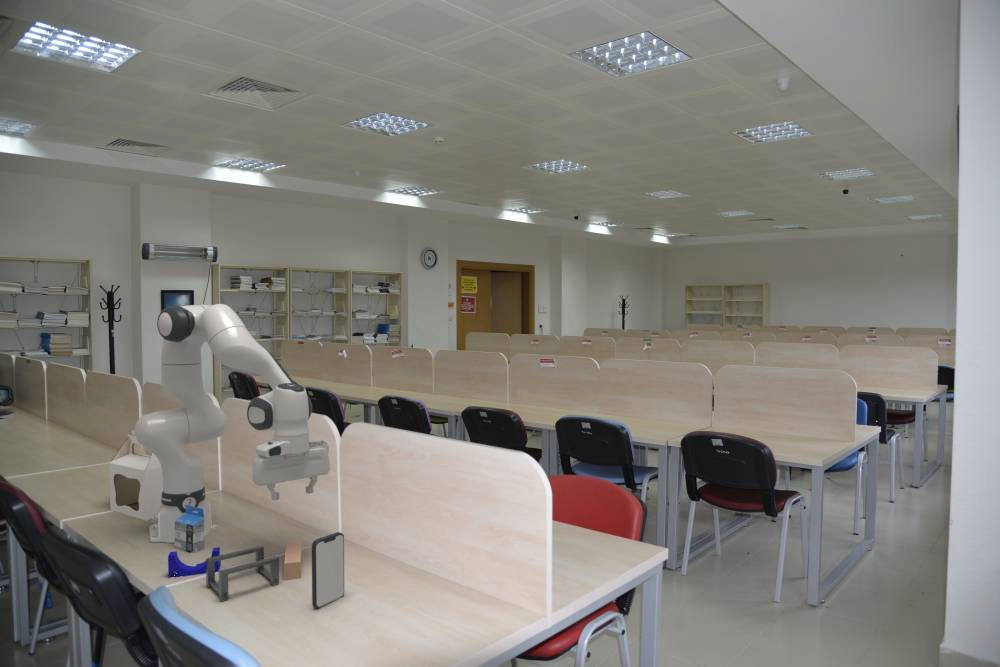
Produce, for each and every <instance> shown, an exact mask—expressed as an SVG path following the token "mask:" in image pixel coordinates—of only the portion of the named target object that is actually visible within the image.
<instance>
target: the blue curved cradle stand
mask: <svg viewBox="0 0 1000 667" xmlns="http://www.w3.org/2000/svg"><path fill="white" fill-rule="evenodd" d="M220 555H221V547H220V546H219V547H218V546H217V547H213V549H212V551H211V556H210V557H209V558H211V557H215V556H220ZM167 563H168V564H167V571H168V572H167V573H168V574H167V576H168V579H171V577H174V578H181V577H180V576H183V577H189V576H196V575H197V576H198V575H203V574H204V575H206V560H205V561H203V562H200V563H196V565H189V564H185V563H184V562H182V560H180V558H179V556H178V551H177V550H175V551H169V554H168V555H167ZM221 563H222V560H221V561H217V562H215V573H219V571H220V569H221V565H222V564H221ZM176 573H177V574H176ZM174 575H175V576H174Z"/></svg>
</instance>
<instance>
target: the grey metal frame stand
mask: <svg viewBox="0 0 1000 667" xmlns="http://www.w3.org/2000/svg"><path fill="white" fill-rule="evenodd" d="M254 553H255V561H254V562H249V563H243V564H241V565H237V566H233V567H229V568H224V569H221V570H220V569H219V572H218V582H217V581H216V572H215V570H216V569H215V562H217V561H221V562H222V561H225V560H229V559H234V558H237V557H241V556H245V555H249V554H250V555H251V554H254ZM210 557H211V556H210ZM210 557H207V558H205V561H206V574H205V578H206V579H205V580H206V581H205V583H206V584H205V585H206V586H205V587H206V588H208V589H210V588H213V589H214V590H215V591H216V593H218V596H219V597H218V598H219V599H218V600H219V602H221V603H222V602H226V601H229V575H231V574H234V573H238V572H239V573H240V572H243V571H246V570H250V569H255V572H256V573H257V574H262V575H264V576H265V577H266V578H267V579H269V580H270V586H272V587H276V586H279V585H280V557H278V556H272V557H269V558H265V547H264V546H263V545H258V546H257V545H256V546H253V547H249V548H246V549H241V550H238V551H237V550H236V551H233V552H228V553H224V554H220V556H215V557H211V558H210ZM269 564H270V565H269ZM266 565H269V566H270V567H269V568H270V569H267V568H266V567H265V566H266Z"/></svg>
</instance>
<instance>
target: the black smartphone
mask: <svg viewBox="0 0 1000 667" xmlns="http://www.w3.org/2000/svg"><path fill="white" fill-rule="evenodd" d="M311 586H312V587H311V591H312V592H311V602H312V603H311V604H312V607H313V608H315V609H321V608H323V607H326V606H327V605H329V604H332V603H333V602H335V601H337V600H339V599H342V598H343V597H344V596H345V537H344V534H343V533H342V532H340V531H337V532H334V533H331V534H328V535H325V536H322V537H320V538H319V537H318V538H317V539H314V540H313V541H312V543H311Z"/></svg>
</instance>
